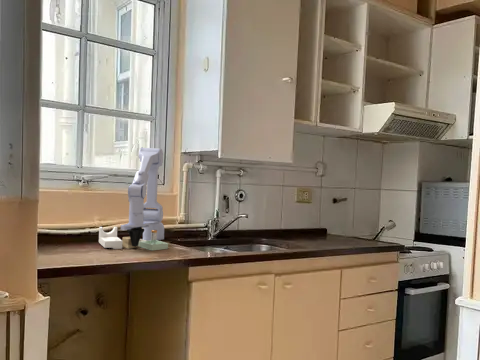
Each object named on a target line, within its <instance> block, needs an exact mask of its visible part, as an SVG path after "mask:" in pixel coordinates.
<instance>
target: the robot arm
mask: <svg viewBox="0 0 480 360" xmlns="http://www.w3.org/2000/svg"><path fill="white" fill-rule="evenodd" d="M138 158H139V162H140V165H139V170H137V171H136V172H135V175H134V177H133V180H132V182H131V184H130V185H129V186H128V187H127V196H128V202H129V208H128V223H125V224H121V225H120V231H126V232H127V233H128V235H129V236H128V237H130V239H131V243H132V246H135V247H136V246H137V247H139V246H138V244H139V241H140V239H143V240H147V241H151V230H157V240H158V241H161V240H165V225H164V224H163V220H164V219H163V218H164V212H163V211H164V210H163V205H162V204H160V203H159V202H158V183H159V181H158V179H159V168H160V167H162V166H163V163H164V152H163V149H162V148H161V147H159V148H158V147H143V146H142V147H140V148H139V150H138ZM145 199H146V201H145ZM141 237H142V238H141Z"/></svg>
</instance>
